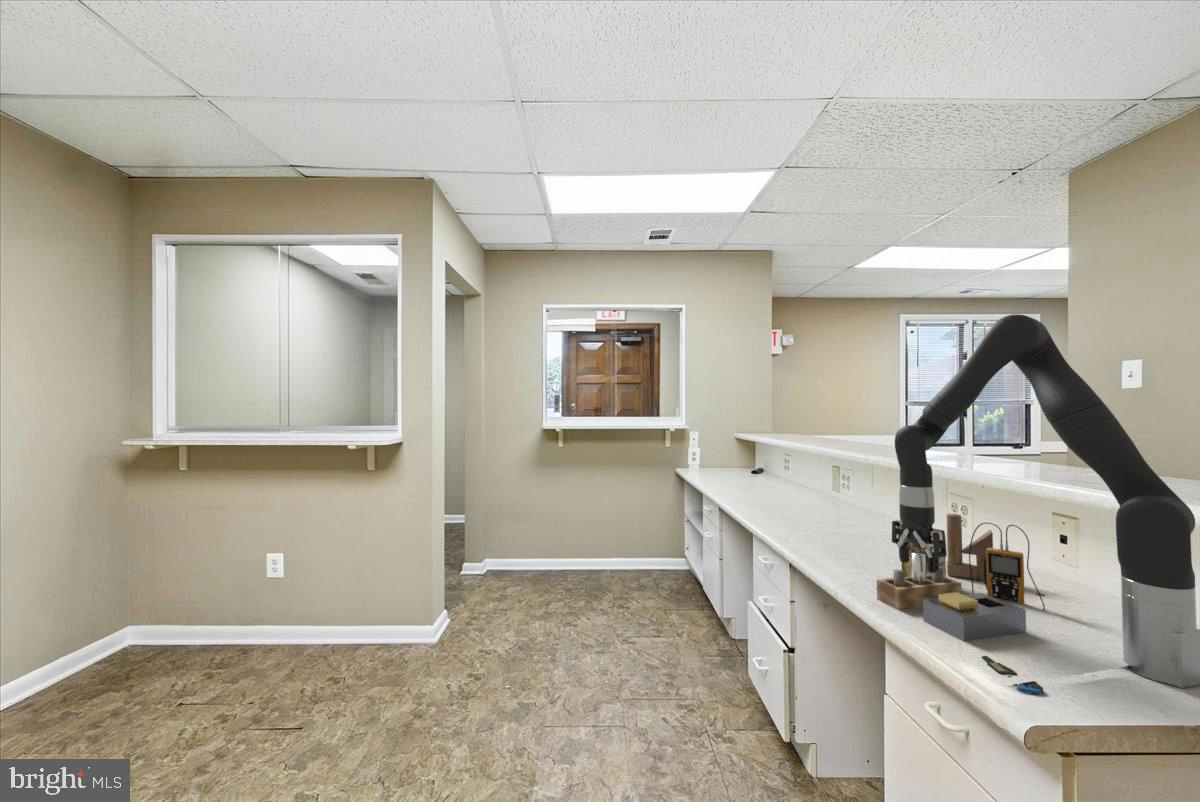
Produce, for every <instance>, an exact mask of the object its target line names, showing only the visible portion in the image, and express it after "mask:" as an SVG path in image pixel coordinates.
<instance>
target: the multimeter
mask: <svg viewBox="0 0 1200 802" xmlns="http://www.w3.org/2000/svg"><path fill="white" fill-rule="evenodd" d="M984 524H986V525H987V524H988V525H993V526H995V527H996V528H998V530H999V531H1000V532H999V533H1000V545H999V548H994V547H993V548H987V550H986V555H985V559H984V581H983V582H984V585H985V587H986V588H985V589H986V590H987V591H986V592H987V594H986V595H989V596H991V597H994V598H996V599H999V600H1003V601H1004V600H1005V601H1010V602H1015V603H1019V604H1025V571H1024V570H1025V568H1024V564H1025V563H1024V560H1025V559H1024V552H1023V553H1022V552H1021V551H1015V550H1014V551H1012V550H1009V544H1008V543H1009V542H1008V529H1009V528H1010V527H1011V526H1012V527H1016V528H1017V529H1019V531H1021V532H1022V533H1023V535H1024V536H1025V537H1026V538H1025V539H1027V544H1028V545H1027V557H1026V558H1027V559H1026V561H1027V562H1026V567H1027V572H1028V575H1029V576H1030V579H1031V581H1032V583H1033V585H1034V587H1035V590H1036V592H1037V593H1038V596H1039V598H1040V601H1041V603H1042V607H1043V609H1042V611H1043V610H1044V611H1045V610H1046V608H1045V603H1044V601H1043V599H1042V598H1043V597H1042V595H1041V594H1040V591H1039V589H1038V587H1037V585H1036V583H1035V581H1034V579H1033V577H1032V574H1031V572H1030V569H1029V559H1030V540H1029V537H1028V535H1027V534H1026V533H1025V531H1024V530H1023V529H1022V528H1020V526H1018V525H1015V524H1010V525H1007V527H1006V528H1005V529H1006V530H1005V544H1003V534H1002V533H1003V532H1002V529H1001V528H1000V527H999V526H998V525H997V524H994V523H991V522H982V523H980V524H978V525H977V526H976V528H974V531H973V533H972V536H971V540H970V549H969V554H968V561H969V564H970V573H971V579H970V581H971V590H972V593H971V594H975V591H974V590H975V589H974V581H973V580H974V579H972V571H971V564H972V563H971V554H970V551H971V544H972V542H973V538H974V537H975V533H976V532H977V530H978V528H980V526H982V525H984ZM1004 546H1005V547H1004ZM1004 548H1005V549H1004ZM986 570H987V575H986Z"/></svg>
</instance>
